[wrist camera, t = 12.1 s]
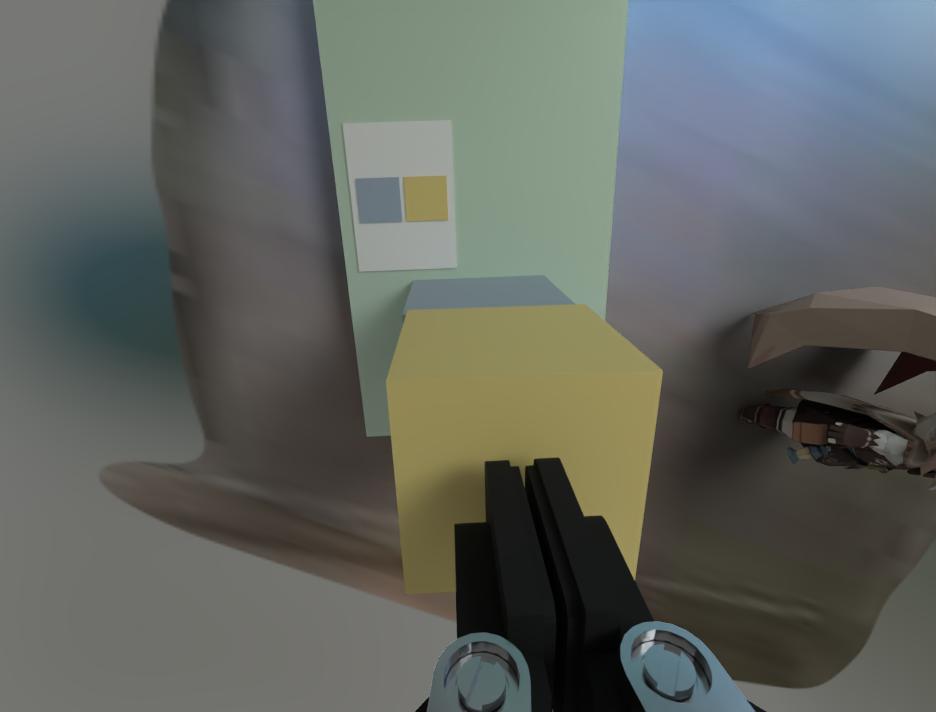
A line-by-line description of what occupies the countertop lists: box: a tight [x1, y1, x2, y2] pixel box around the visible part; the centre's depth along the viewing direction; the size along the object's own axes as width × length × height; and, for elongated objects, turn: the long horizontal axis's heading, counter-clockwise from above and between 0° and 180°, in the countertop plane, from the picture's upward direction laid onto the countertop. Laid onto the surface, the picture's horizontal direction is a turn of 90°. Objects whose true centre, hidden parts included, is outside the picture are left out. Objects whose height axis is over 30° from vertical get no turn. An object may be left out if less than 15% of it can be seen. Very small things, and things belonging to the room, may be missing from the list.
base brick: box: [402, 275, 575, 323], centre depth 19 cm, size 6×6×6 cm
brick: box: [386, 304, 663, 595], centre depth 14 cm, size 6×6×6 cm
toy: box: [740, 286, 936, 490], centre depth 18 cm, size 9×8×15 cm
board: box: [313, 0, 629, 437], centre depth 21 cm, size 22×12×1 cm, turn 2°
